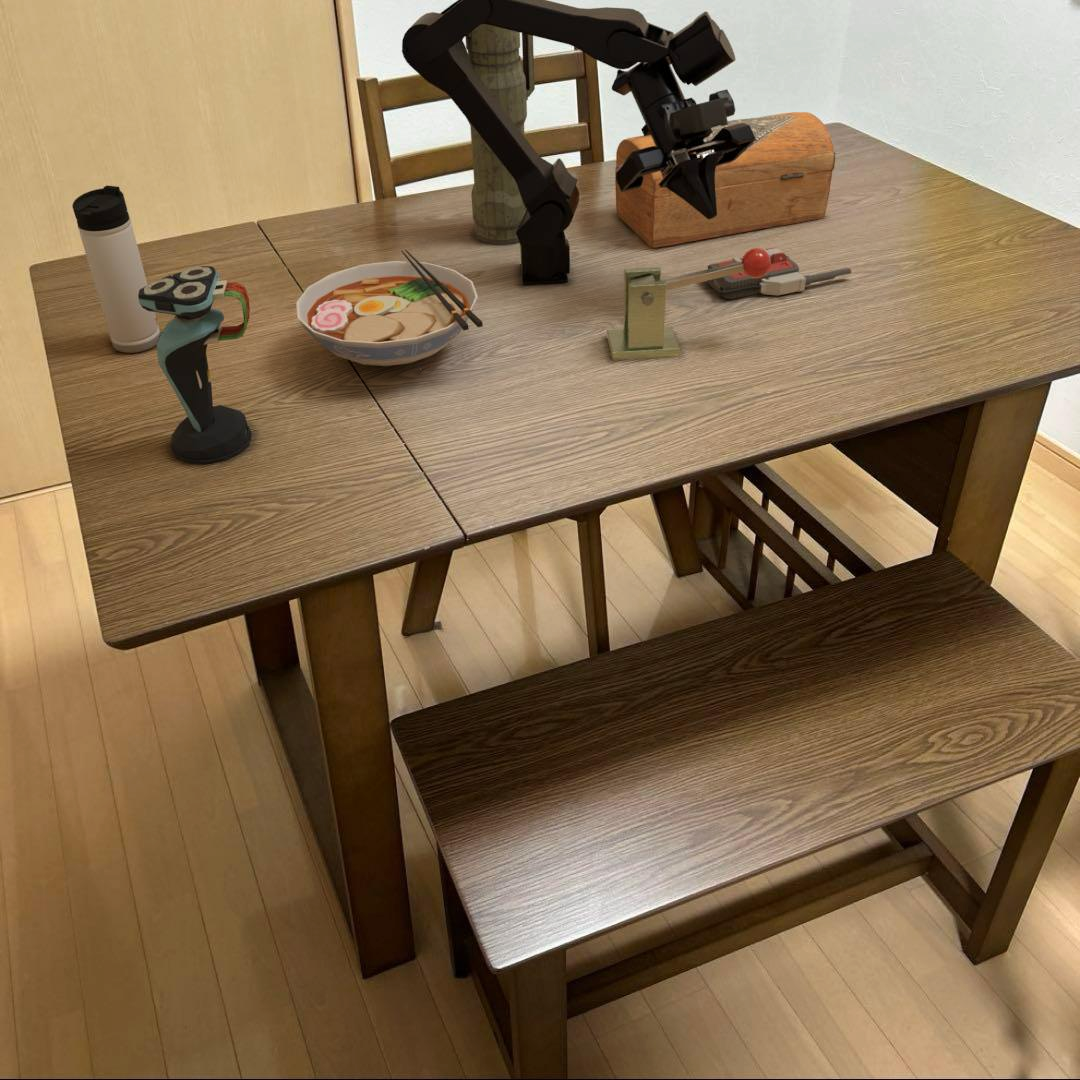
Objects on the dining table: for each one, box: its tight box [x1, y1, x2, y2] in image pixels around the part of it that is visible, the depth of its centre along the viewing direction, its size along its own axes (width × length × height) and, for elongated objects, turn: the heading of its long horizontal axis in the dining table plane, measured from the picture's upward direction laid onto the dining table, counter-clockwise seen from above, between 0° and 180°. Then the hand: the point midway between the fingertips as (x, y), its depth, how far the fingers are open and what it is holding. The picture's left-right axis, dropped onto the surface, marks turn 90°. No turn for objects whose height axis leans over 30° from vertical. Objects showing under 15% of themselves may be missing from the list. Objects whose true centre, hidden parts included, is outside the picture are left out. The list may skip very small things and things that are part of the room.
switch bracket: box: [606, 266, 681, 361], centre depth 141 cm, size 8×6×10 cm
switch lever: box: [631, 247, 771, 291], centre depth 139 cm, size 17×4×4 cm, turn 94°
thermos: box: [462, 24, 536, 245], centre depth 164 cm, size 9×12×35 cm
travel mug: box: [71, 185, 161, 354], centre depth 143 cm, size 6×7×20 cm
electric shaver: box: [138, 265, 253, 465], centre depth 124 cm, size 9×12×20 cm
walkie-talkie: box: [706, 247, 852, 300], centre depth 157 cm, size 9×4×20 cm
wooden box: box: [614, 111, 836, 248], centre depth 173 cm, size 30×16×14 cm, turn 109°
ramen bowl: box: [295, 249, 483, 367], centre depth 143 cm, size 25×23×8 cm
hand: (713, 217), depth 143 cm, fingers closed
